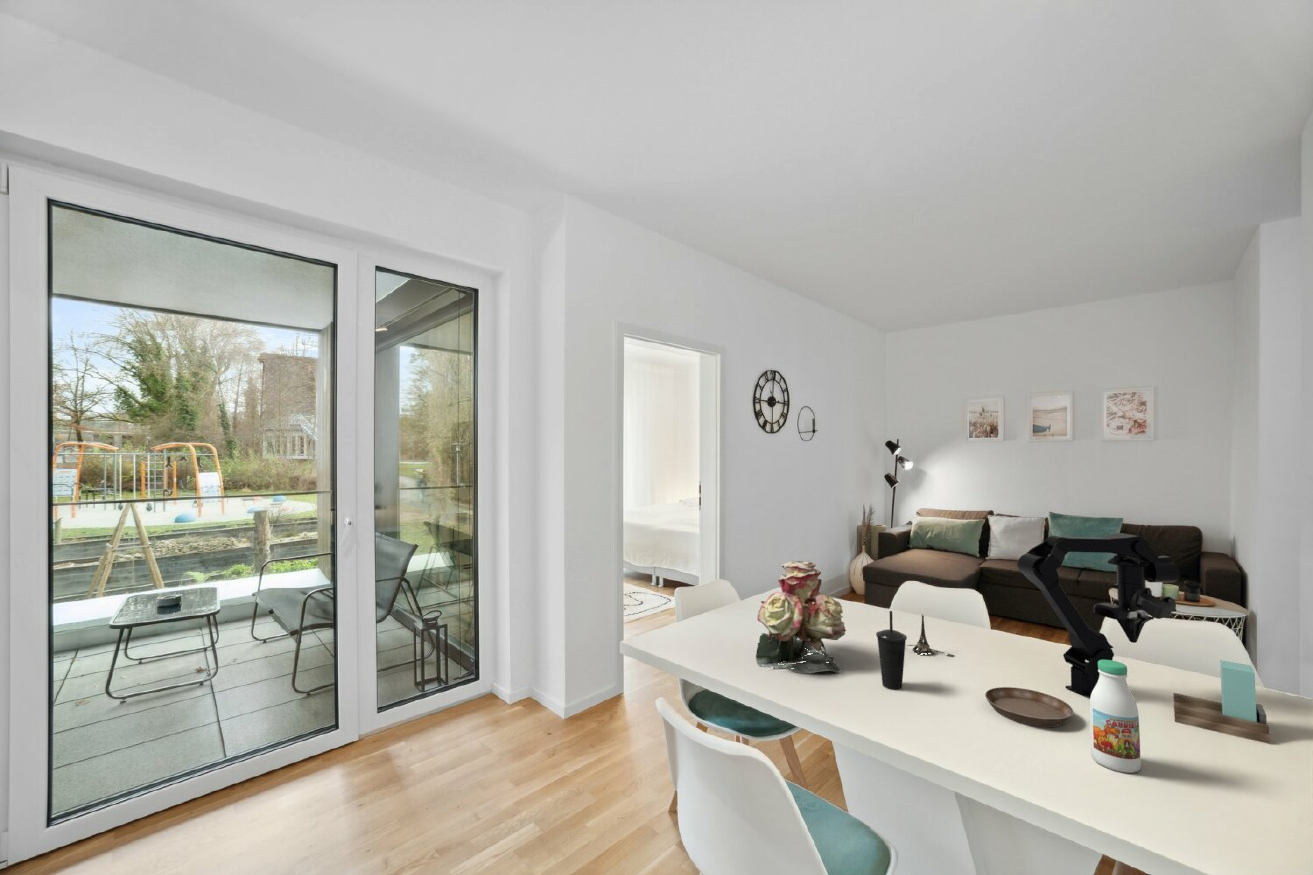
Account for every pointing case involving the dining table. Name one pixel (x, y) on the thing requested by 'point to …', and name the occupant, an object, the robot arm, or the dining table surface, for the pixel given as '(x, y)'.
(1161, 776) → the dining table surface
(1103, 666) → the milk bottle
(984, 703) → the dining table surface
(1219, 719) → the chute
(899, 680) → the drinking cup
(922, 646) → the eiffel tower figurine
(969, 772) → the dining table surface
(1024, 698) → the plant saucer
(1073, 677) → the robot arm
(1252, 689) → the block
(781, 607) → the rose bouquet
